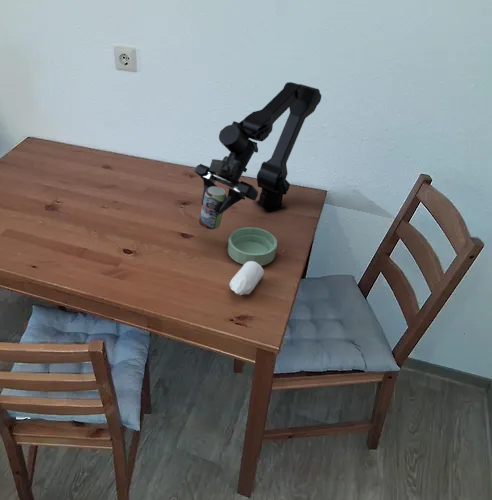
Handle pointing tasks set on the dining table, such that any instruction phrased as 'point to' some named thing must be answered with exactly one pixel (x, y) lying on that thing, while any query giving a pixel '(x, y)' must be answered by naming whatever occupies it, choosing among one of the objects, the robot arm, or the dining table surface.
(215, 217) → the beverage can
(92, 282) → the dining table surface
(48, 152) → the dining table surface
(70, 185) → the dining table surface
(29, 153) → the dining table surface
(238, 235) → the bowl
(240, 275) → the roll
